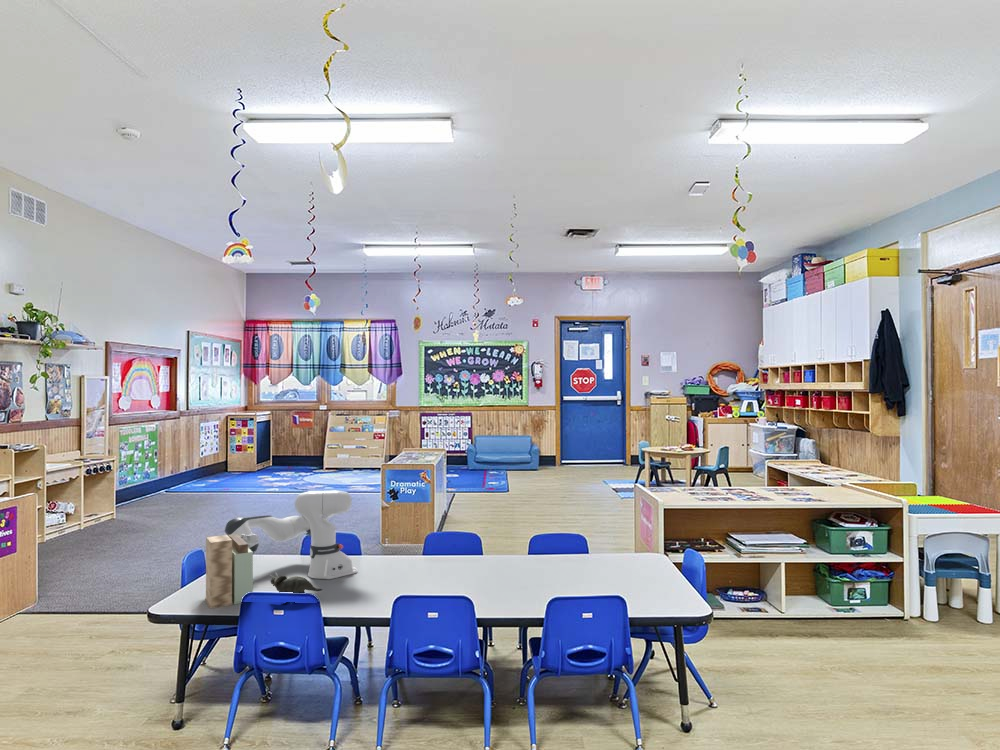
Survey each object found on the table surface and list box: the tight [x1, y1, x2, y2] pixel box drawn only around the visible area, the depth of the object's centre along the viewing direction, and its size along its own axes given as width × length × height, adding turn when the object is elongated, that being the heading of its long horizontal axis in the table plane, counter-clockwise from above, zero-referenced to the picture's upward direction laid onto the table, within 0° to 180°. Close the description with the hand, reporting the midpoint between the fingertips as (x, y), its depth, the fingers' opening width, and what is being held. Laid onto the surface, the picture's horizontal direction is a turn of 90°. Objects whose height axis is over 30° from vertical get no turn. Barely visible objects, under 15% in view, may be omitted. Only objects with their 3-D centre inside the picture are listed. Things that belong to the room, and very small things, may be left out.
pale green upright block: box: [232, 547, 254, 605], centre depth 269 cm, size 7×14×20 cm, turn 33°
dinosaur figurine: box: [268, 571, 323, 594], centre depth 264 cm, size 22×8×11 cm, turn 90°
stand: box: [205, 534, 234, 610], centre depth 263 cm, size 8×11×26 cm
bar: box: [229, 534, 248, 554], centre depth 272 cm, size 4×22×4 cm, turn 33°
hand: (236, 536), depth 276 cm, fingers open, 5 cm apart
